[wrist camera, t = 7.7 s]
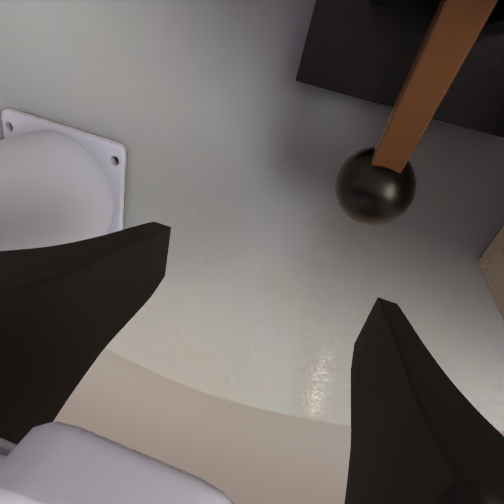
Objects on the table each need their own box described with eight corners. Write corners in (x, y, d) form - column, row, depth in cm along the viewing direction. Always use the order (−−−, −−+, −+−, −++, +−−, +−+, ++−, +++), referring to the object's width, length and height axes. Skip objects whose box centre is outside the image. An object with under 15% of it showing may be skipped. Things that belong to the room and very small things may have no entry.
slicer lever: (400, 197, 16) (392, 249, 15) (335, 177, 17) (319, 226, 15) (679, -260, 7) (748, -261, 5) (505, -284, 7) (515, -293, 5)
